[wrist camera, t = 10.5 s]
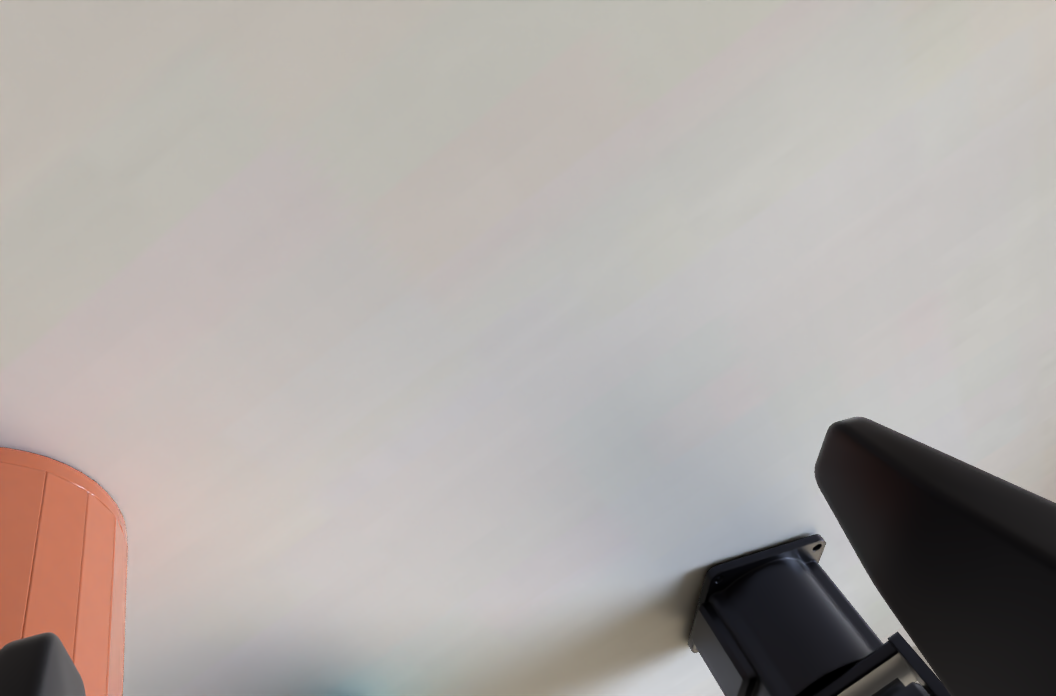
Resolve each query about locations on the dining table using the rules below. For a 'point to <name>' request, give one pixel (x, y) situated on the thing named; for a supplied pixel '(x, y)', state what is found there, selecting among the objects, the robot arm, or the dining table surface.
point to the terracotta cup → (63, 565)
